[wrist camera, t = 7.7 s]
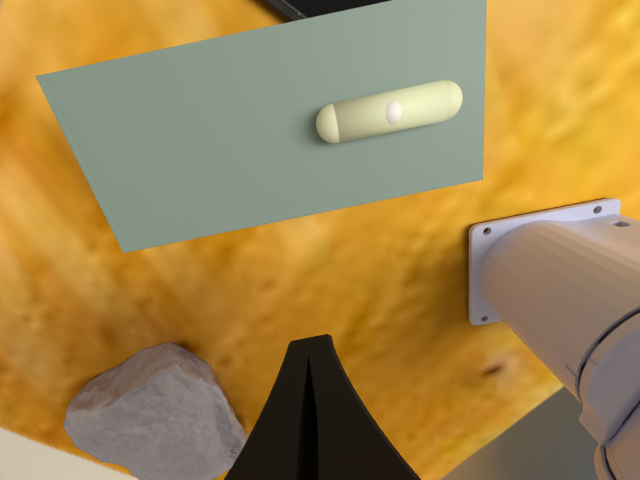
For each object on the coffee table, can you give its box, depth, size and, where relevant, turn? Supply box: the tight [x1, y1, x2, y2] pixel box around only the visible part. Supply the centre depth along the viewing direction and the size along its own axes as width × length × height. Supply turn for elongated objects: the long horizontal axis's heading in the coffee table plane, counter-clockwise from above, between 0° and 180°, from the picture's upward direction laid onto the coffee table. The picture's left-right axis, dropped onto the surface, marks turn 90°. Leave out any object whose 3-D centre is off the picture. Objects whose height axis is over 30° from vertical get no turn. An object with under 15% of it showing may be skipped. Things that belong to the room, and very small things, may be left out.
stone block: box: [64, 343, 248, 480], centre depth 24 cm, size 12×5×10 cm
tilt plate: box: [36, 0, 486, 253], centre depth 12 cm, size 16×7×3 cm, turn 101°
